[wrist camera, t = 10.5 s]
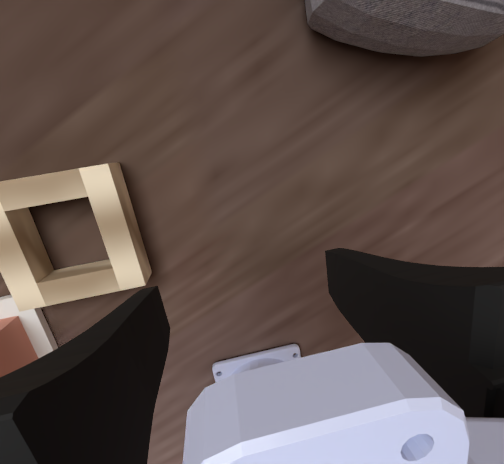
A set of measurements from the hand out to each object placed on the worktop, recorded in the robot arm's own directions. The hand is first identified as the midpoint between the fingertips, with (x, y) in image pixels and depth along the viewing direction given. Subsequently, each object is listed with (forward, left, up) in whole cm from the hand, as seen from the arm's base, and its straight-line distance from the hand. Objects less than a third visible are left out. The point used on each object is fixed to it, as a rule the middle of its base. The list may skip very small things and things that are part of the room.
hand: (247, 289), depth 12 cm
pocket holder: (+2, +11, -10) cm, 15 cm away
